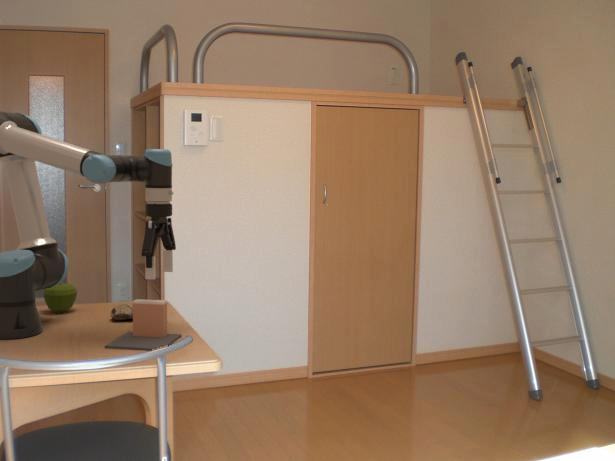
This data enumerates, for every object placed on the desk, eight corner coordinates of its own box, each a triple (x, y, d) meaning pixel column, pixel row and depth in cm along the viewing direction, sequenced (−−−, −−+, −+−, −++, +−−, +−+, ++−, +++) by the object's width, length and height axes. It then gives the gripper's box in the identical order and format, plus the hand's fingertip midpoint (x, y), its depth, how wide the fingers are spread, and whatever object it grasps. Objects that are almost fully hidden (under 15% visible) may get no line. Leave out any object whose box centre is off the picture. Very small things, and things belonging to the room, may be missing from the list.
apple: (67, 316, 223) (66, 285, 222) (36, 314, 225) (36, 284, 224) (83, 309, 234) (82, 279, 233) (54, 307, 235) (53, 278, 234)
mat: (104, 347, 186) (104, 345, 186) (128, 333, 202) (128, 331, 202) (162, 351, 184) (162, 349, 184) (181, 336, 200) (181, 334, 200)
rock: (147, 322, 217) (147, 308, 217) (110, 323, 215) (110, 309, 214) (146, 315, 228) (146, 302, 227) (111, 316, 225) (111, 303, 225)
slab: (132, 335, 197) (132, 301, 196) (137, 333, 200) (136, 299, 199) (163, 337, 196) (163, 302, 195) (167, 334, 199) (166, 300, 198)
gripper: (154, 205, 188) (155, 283, 190) (185, 200, 212) (186, 269, 214) (128, 204, 189) (129, 281, 191) (162, 200, 214) (163, 268, 216)
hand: (159, 275), depth 203 cm, fingers open, 13 cm apart
